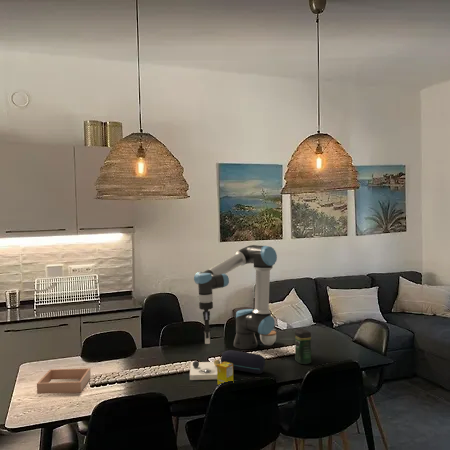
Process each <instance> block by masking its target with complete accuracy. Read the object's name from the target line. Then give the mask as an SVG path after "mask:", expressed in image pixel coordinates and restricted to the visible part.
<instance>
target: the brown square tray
mask: <svg viewBox="0 0 450 450" xmlns="http://www.w3.org/2000/svg"><path fill="white" fill-rule="evenodd" d="M90 377H91V368H89V367H88V368H83V367H82V368H60V369H59V368H58V369H57V368H56V369H55V368H54V369H49V370H48V371H47V372H46V373H45V374H44V375H43V376H42V377H41V378H40V379H39V381H38V382H37V383H36V394H37V395H43V394H44V395H45V394H47V395H48V394H69V393H70V394H71V393H72V394H74V393H76V394H77V393H82V391H83V390H84V389H85V387H86V386H87V384H88V382H89V381H90V379H91V378H90ZM76 379H77V380H78V379H80V380H79V381H60V382H59V381H55V382H54V381H53V382H51V381H52V380H76Z"/></svg>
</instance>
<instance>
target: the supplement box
mask: <svg viewBox="0 0 450 450" xmlns="http://www.w3.org/2000/svg"><path fill="white" fill-rule="evenodd" d="M216 380H217V381H216V382H217V386H218V385H219V384H221V383H224V382H228V381H233V382H234V370H233V364H232V363H228V362H222V363H220V364H217V379H216Z"/></svg>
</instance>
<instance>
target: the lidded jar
mask: <svg viewBox="0 0 450 450" xmlns="http://www.w3.org/2000/svg"><path fill="white" fill-rule="evenodd" d="M259 339H260V342H261V343H262V344H263V346H264V345H265V346H272V345H274V343H275V342H276V340H277V331H276V330H272V331H271V332H270V333H269V334H267V335H264V334H259Z"/></svg>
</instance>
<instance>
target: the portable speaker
mask: <svg viewBox="0 0 450 450" xmlns="http://www.w3.org/2000/svg"><path fill="white" fill-rule="evenodd" d="M220 362H221V363H222V362H228V363H232V364H233V371H238V372H239V371H240V372H246V373H251V374H256V375H259V374H260V375H261V374H262V373H263V372H264V371H265V367H266V358H265V357H264V356H262V355H261V354H259V353H258V354H257V353H253V352H252V353H251V352H248V351H247V352H246V351H245V352H244V351H240V350H232V349H229V350H225V351H223V352H222V353H221V357H220Z"/></svg>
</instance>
